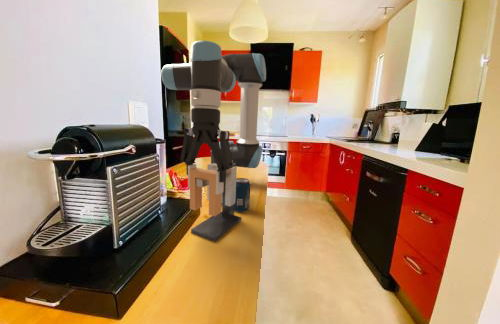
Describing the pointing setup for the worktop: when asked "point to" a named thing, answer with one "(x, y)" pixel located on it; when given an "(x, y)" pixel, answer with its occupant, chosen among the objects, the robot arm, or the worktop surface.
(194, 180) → the orange link
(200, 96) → the robot arm
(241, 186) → the soda can
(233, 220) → the stand
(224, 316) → the worktop surface
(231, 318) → the worktop surface
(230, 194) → the grey link
